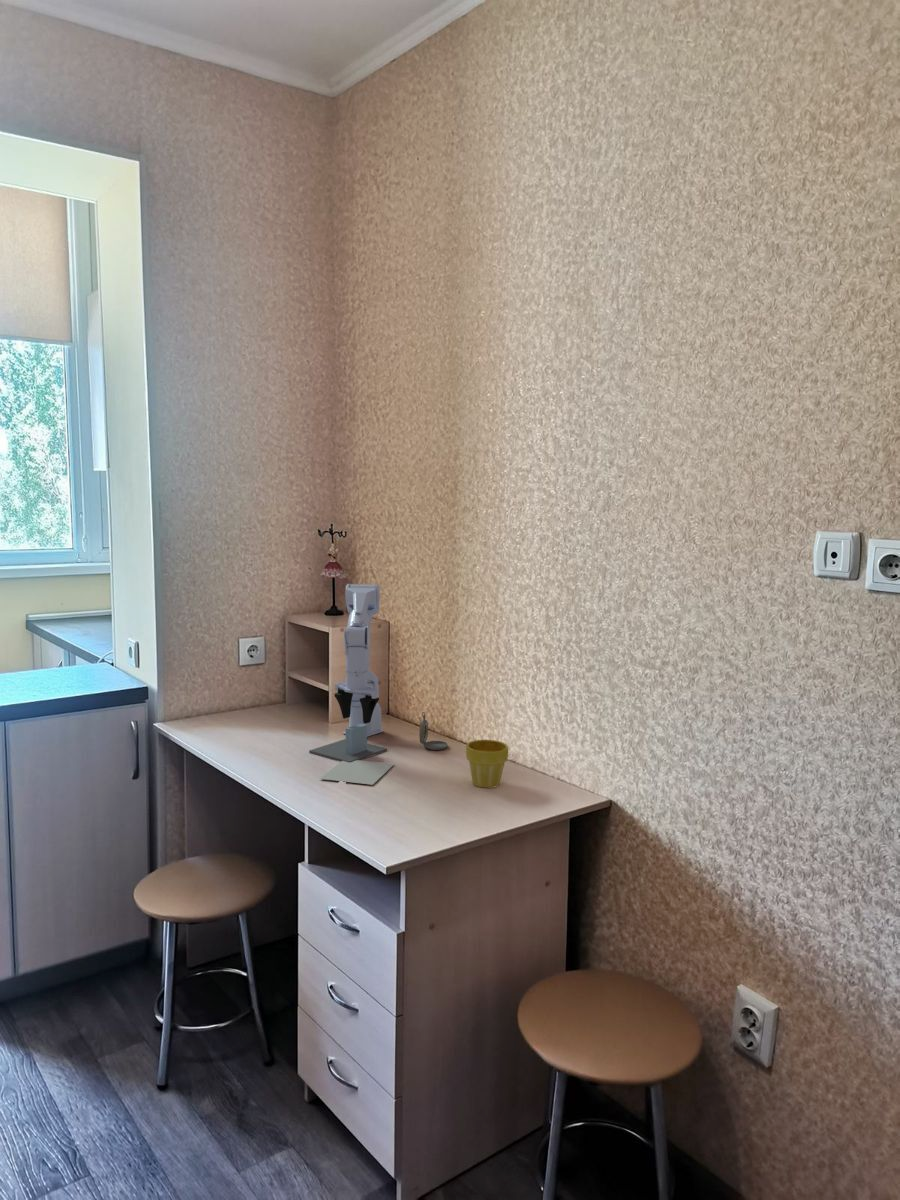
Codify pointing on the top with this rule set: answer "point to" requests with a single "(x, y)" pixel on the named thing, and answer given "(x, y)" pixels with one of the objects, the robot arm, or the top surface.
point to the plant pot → (486, 761)
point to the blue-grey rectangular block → (356, 739)
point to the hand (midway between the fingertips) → (356, 720)
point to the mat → (339, 751)
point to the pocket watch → (424, 734)
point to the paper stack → (358, 771)
